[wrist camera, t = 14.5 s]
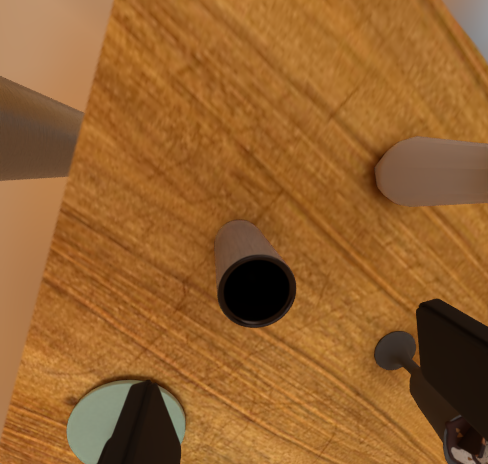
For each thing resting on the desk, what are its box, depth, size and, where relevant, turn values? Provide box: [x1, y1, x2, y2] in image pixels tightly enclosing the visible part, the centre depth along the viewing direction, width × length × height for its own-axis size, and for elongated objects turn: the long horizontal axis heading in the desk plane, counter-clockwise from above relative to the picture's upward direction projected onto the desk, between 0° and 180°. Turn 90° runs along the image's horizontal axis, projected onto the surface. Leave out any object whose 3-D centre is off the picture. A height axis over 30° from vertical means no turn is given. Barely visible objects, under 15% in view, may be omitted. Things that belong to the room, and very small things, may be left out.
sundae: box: [375, 331, 488, 464], centre depth 23 cm, size 7×7×15 cm
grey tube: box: [214, 220, 296, 328], centre depth 20 cm, size 4×4×10 cm
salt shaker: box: [374, 136, 488, 207], centre depth 19 cm, size 6×6×13 cm
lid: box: [67, 380, 186, 464], centre depth 25 cm, size 11×11×6 cm
